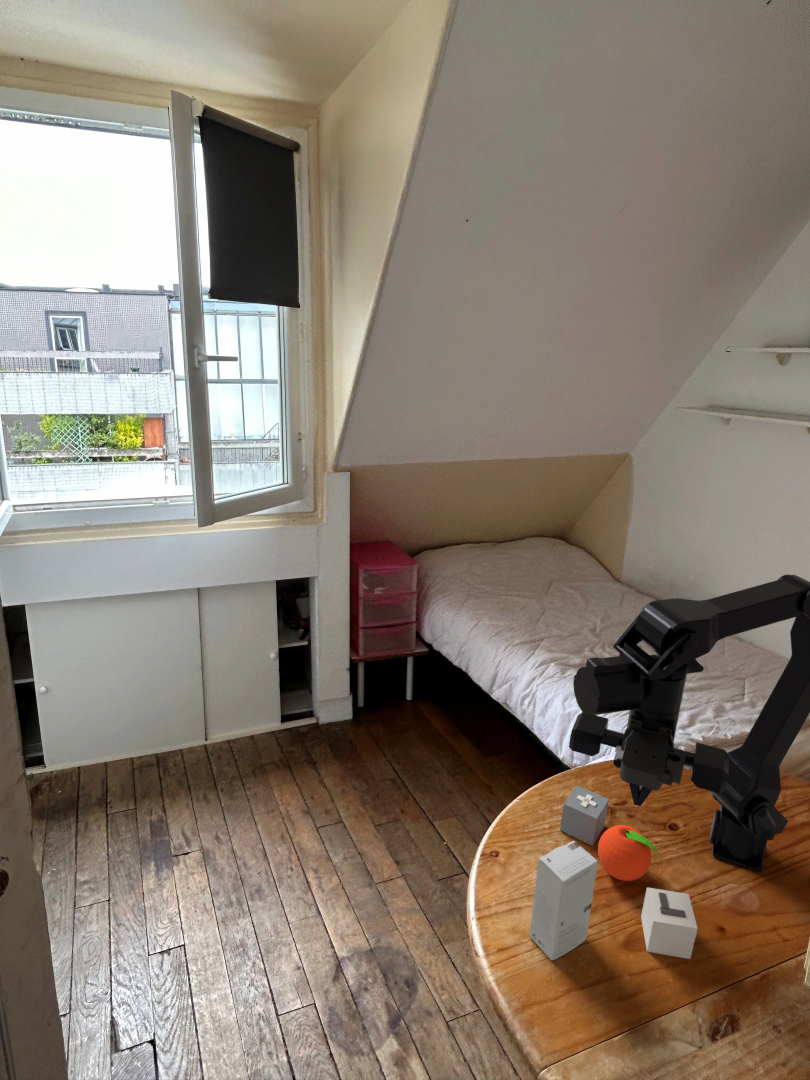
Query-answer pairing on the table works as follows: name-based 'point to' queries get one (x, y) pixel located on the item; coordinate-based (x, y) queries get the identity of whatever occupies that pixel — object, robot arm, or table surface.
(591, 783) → the table surface
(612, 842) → the clementine
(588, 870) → the skincare box
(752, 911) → the table surface
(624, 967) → the table surface
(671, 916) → the pale grey block
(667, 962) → the table surface
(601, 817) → the slate block
